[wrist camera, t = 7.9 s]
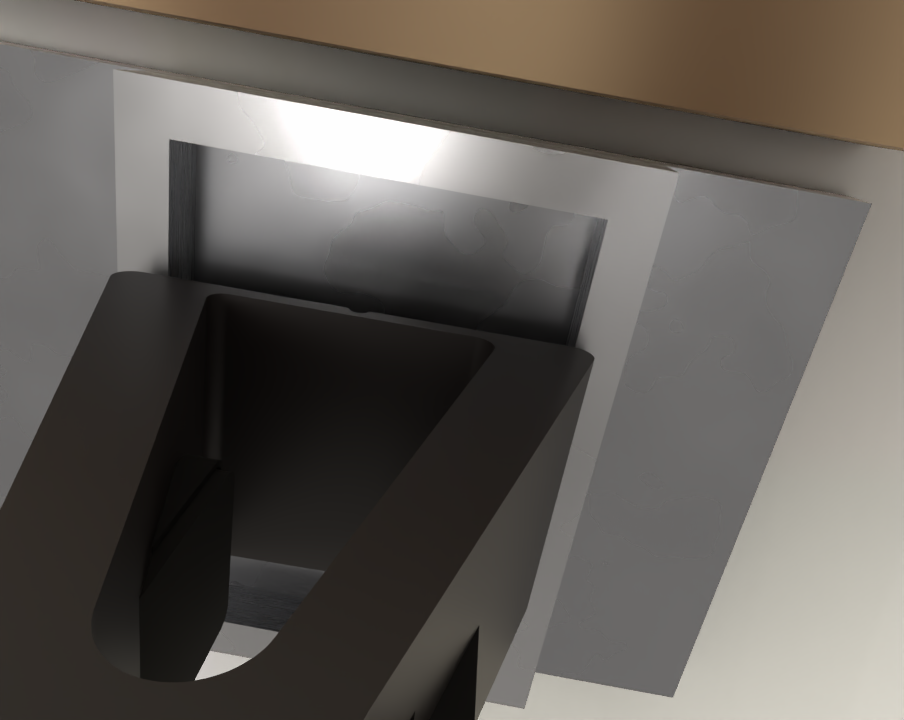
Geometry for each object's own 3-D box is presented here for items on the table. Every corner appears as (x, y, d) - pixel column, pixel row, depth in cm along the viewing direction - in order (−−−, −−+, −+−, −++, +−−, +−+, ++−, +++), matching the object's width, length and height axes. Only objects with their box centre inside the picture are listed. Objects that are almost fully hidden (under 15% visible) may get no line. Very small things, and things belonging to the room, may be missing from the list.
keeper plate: (846, 195, 14) (906, 214, 12) (664, 667, 19) (684, 738, 17) (-22, 36, 14) (-114, 28, 12) (24, 549, 19) (-34, 605, 17)
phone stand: (593, 350, 13) (1264, 2018, 2) (525, 594, 15) (636, 1989, 4) (123, 264, 13) (-2454, 1563, 2) (126, 526, 15) (-906, 1803, 4)
